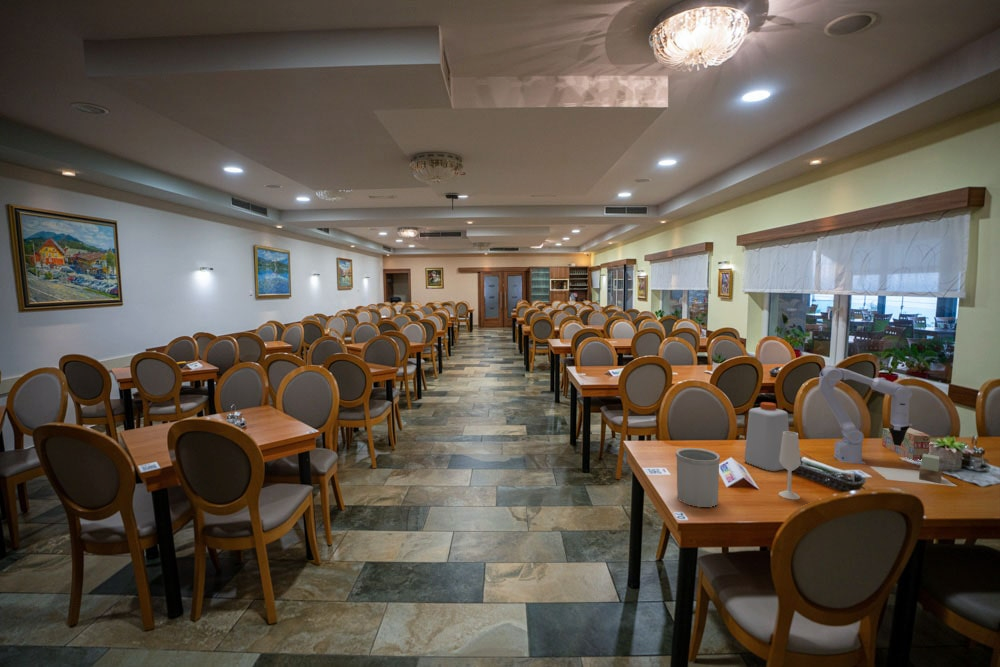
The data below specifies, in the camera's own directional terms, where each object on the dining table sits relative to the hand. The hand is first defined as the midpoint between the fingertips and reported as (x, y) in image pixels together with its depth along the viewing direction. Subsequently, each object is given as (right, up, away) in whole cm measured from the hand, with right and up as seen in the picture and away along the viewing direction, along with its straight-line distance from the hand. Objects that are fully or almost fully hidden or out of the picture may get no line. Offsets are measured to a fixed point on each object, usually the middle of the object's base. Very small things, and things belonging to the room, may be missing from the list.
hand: (898, 443), depth 188 cm
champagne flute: (-66, -13, -26) cm, 72 cm away
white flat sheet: (-5, -11, -11) cm, 16 cm away
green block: (-1, -6, -15) cm, 16 cm away
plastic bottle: (-54, -11, +5) cm, 56 cm away
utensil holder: (-101, -14, -28) cm, 106 cm away
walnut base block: (-1, -11, -15) cm, 18 cm away
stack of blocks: (+18, -10, +16) cm, 26 cm away
